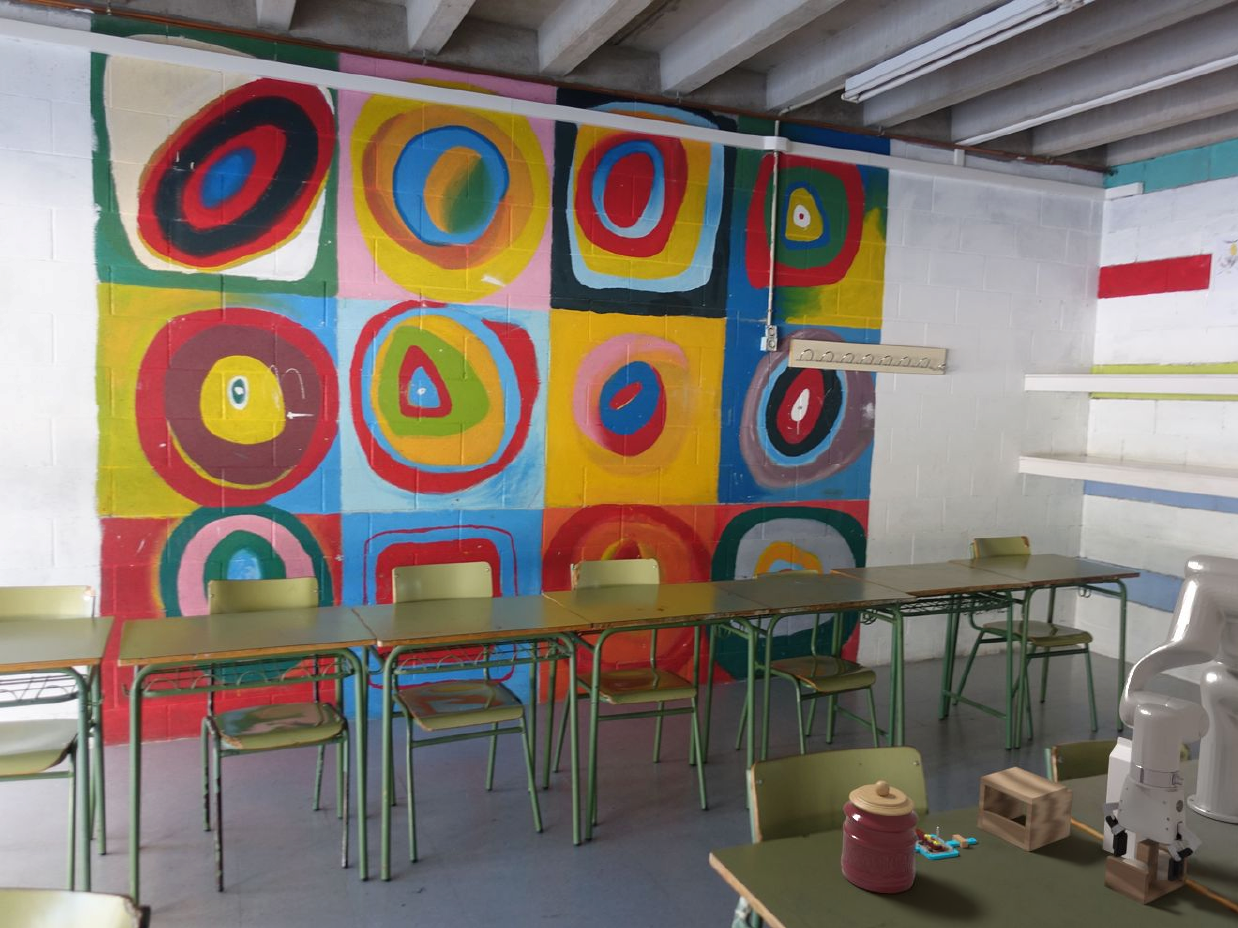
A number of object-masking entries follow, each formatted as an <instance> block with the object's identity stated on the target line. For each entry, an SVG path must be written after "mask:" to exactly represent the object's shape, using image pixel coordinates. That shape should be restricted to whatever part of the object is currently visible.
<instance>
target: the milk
mask: <svg viewBox="0 0 1238 928" xmlns="http://www.w3.org/2000/svg"><path fill="white" fill-rule="evenodd" d="M1131 751H1132V740H1130V739H1128V738H1125V737H1122V736H1121V737H1120V736H1118V737H1117V743H1116V745H1115V747H1114V748H1113V749H1112V751H1111V752H1110V754H1109V757H1108V759H1109V760H1108V770H1107V783H1106V785H1107V786H1106V799H1105V803H1111V802H1119V800H1120V795H1121V790H1122V787H1123V783H1124V780H1125V778H1126V775H1127V774H1129V773H1130V764H1131ZM1113 813H1114V815H1115V817H1116V818H1117V820H1118V810H1113ZM1103 824H1104V826H1103V837H1102V850H1103V851H1106V852H1108V853H1111V854H1113V855H1114V849H1113V836H1114V834H1112V833H1111V828H1110V826H1109V825H1108V823H1107V822H1106V820H1105V819H1104V823H1103ZM1125 832H1126V833H1127V835H1128V840H1127V852H1126V854H1125V855H1123V856H1120V857H1121V858H1123V859H1136V856H1137V843H1138V842H1141V841H1143V840H1145V839H1148V838H1145V837H1143V836H1140V835H1138V834H1135V833H1133V832H1131V831H1128V830H1125Z"/></svg>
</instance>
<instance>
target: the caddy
mask: <svg viewBox="0 0 1238 928" xmlns="http://www.w3.org/2000/svg"><path fill="white" fill-rule="evenodd" d="M1188 857H1189V856H1188ZM1188 857H1186V858H1184V867H1183V875H1182V877H1180V878H1179V879H1177V880H1175V881H1169V880H1168V865H1169V859H1170V858H1172V855H1171V853H1170V852H1169V850H1168V848H1167V847H1166V845H1163V844H1160V843H1157V842H1155V841H1153V840H1150V839H1145V840H1143V841H1141V842H1138V843H1137V856H1136V859H1126V858H1123V860H1121V859H1118V858H1117V857H1115V856H1112V855H1108V856H1106V863H1105V874H1104V875H1105V876H1104V887H1105V888H1108V889H1109V890H1112V891H1113V892H1116V893H1118V894H1121V895H1123V896H1125V897H1126V898H1129V899H1131V900H1133V901H1135V902H1137V903H1139V904H1141V905H1146V904H1148V903H1150V902H1152V901H1154V900H1157V899H1158V898H1161V897H1162V896H1165V895H1166V894H1169V893H1171V892H1173V891H1175V890H1177V889H1179V888H1181V887H1183V886H1186V885H1187V884H1186V882H1187V869H1188V859H1189V858H1188Z"/></svg>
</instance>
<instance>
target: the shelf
mask: <svg viewBox="0 0 1238 928" xmlns="http://www.w3.org/2000/svg"><path fill="white" fill-rule="evenodd" d="M979 786H980V787H979V802H978V805H979V806H978V817H977V828H978V829H980V830H982V831H984V832H986V833H989V834H991V835H993V836H995V837H998V838H999V839H1001V840H1003V841H1005V842H1008V843H1010V844H1012V845H1014V846H1016V847H1018V848H1021V849H1022V850H1025V851H1026V852H1032V851H1034V850H1036V849H1039V848H1042V847H1044V846H1047V845H1049V844H1053V843H1055V842H1057V841H1060V840H1063V839H1066V838H1069V837H1070V835H1071V822H1072V810H1073V809H1072V808H1073V798H1074V797H1073V795H1074V793H1073V792H1074V791H1073V790H1072V789H1069V788H1068V786H1065V785H1063V784H1061V783H1058V782H1056V781H1053V780H1050V779H1048V778H1045V777H1042V776H1041V775H1037V774H1035V773H1033V772H1030V771H1028V770H1025V769H1022V768H1020V767H1017V766H1014V767H1009V768H1007V769H1004V770H1001V771H997V772H994V773H993V772H992V773H991V774H990V773H989V774H987V775H983V776H981V777H980V785H979ZM1024 802H1025V803H1026V813H1025V814H1026V818H1025V825H1022V824H1020V823H1018V822H1016V821H1013V820H1012V819H1016V818H1019V817H1021V816H1024Z"/></svg>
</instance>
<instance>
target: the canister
mask: <svg viewBox="0 0 1238 928" xmlns="http://www.w3.org/2000/svg"><path fill="white" fill-rule="evenodd" d="M848 798H849V800H848V801H847V802H846V803H845V804H844V805H843V812H844V814H845V816H846V817H845V820H844V821H843V824H842V830H843V837H842V853H841V856H840V865H841V866H840V867H841V873H842V875H843V876H844V878H846V880H848V881H849V882H850V883H851V884H852V885H855V887H858V888H861V889H863V890H866V891H869V892H874V893H879V894H898V893H901V892H902V893H903V892H904V891H907V890H909V889H910V888H911V887H912V886H913V884H914V880H915V878H916V866H915V865H916V853H917V852H916V842H917V834H916V832H915V829H916V826H917V825H918V824H919V815H918V814H917V813H916V812H915V810H914V809H915V803H914V801H913V799H911V798H910V797H908V795H906V794H905V793H904V792H903V791H902V790H900V789H898V788H895V787H893V786H890V785H889V783H888V782H887V781H885V780H879V781H877V782H876V783H874V784H872V783H871V784H866V785H865V784H864V785H862V786H860V787H858V788H856V789H853V790H852V791H851V792H850V793H849V795H848Z"/></svg>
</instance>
